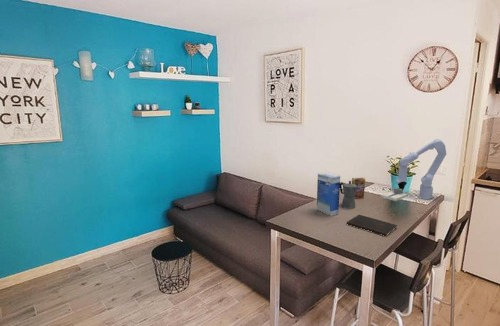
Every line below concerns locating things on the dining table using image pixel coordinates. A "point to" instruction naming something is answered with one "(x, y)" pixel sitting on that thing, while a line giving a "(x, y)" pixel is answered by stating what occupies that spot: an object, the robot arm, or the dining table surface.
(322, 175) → the string lights box
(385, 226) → the black spiral notebook
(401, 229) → the dining table surface
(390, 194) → the console
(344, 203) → the coffeepot
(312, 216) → the dining table surface
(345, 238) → the dining table surface
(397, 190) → the fader cap
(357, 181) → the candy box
